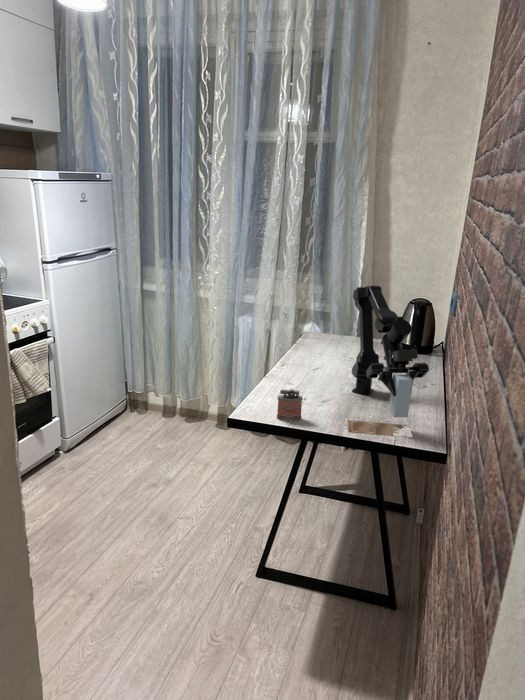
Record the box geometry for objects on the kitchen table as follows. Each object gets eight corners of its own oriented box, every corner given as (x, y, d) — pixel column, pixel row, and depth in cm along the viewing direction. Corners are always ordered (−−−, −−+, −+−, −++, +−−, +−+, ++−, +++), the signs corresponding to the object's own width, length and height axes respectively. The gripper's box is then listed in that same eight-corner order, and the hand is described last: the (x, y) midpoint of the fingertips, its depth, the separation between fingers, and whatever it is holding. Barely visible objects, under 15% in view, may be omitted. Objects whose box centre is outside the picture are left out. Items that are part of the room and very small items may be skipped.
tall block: (388, 411, 171) (393, 374, 167) (402, 411, 171) (407, 374, 168) (393, 417, 166) (398, 379, 163) (407, 417, 167) (412, 379, 163)
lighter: (300, 416, 178) (302, 388, 175) (301, 420, 175) (303, 391, 172) (276, 415, 178) (277, 387, 175) (276, 420, 175) (278, 391, 172)
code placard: (409, 425, 174) (409, 425, 174) (413, 438, 166) (413, 437, 166) (347, 420, 176) (347, 420, 176) (348, 432, 168) (348, 432, 168)
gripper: (373, 338, 164) (381, 385, 157) (430, 338, 167) (442, 384, 160) (362, 355, 174) (370, 400, 167) (417, 354, 177) (427, 399, 170)
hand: (402, 395), depth 166 cm, fingers closed on tall block, 4 cm apart
